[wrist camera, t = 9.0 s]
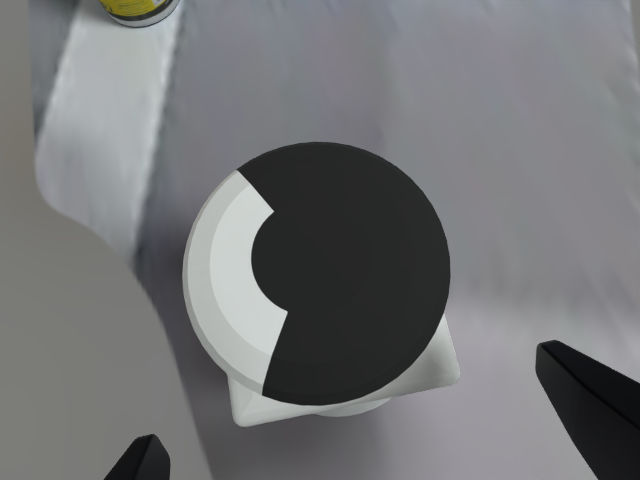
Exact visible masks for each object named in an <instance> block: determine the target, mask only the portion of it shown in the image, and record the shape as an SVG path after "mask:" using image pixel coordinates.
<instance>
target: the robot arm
mask: <svg viewBox="0 0 640 480" xmlns="http://www.w3.org/2000/svg"><path fill="white" fill-rule="evenodd" d="M535 369H536V374H537V377H538V379H539V381H540V383H541V385H542V387H543V388H544V390H545V392H546V394H547V396H548V398H549V399H550V401H551V403H552V405H553V407H554V409H555V411H556V412H557V414H558V416H559V418H560V420H561V422H562V423H563V425H564V427H565V429H566V431H567V433H568V434H569V436H570V438H571V439H572V441H573V443H574V444H575V446H576V447H577V449H578V451H579V452H580V454H581V455H582V457H583V458H584V459H585V461H586V462H587V464H588V465H589V467H590V468H591V470H592V471H593V473H594V474H595V476H596V477H597V479H598V480H640V383H638V382H636V381H635V380H633V379H631V378H629V377H627V376H625V375H623V374H621V373H619V372H617V371H615V370H613V369H612V368H610V367H608V366H606V365H604V364H602V363H600V362H598V361H596V360H594V359H592V358H591V357H589V356H587V355H585V354H583V353H581V352H579V351H577V350H575V349H573V348H571V347H569V346H568V345H566V344H564V343H562V342H560V341H557V340H551V341H547V342H543V343H540V344H538V346H537V349H536V366H535ZM169 477H170V458H169V455H168V453H167V451H166V450H165V448H164V446H163V445H162V443H161V442H160V440H159V438H158V437H157V436H156V435H154V434H150V435H146V436H142V437H138V438H137V439H135V440H134V441H133V442H132V444H131V445H130V446H129V448H128V449H127V451H126V452H125V453H124V454H123V455H122V457H121V458H120V459H119V460H118V462H117V463H116V465H115V466H114V467H113V468H112V470H111V471H110V472H109V473H108V475H107V476H106V477H105V479H104V480H169V479H170V478H169Z"/></svg>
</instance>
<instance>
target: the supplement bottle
mask: <svg viewBox="0 0 640 480" xmlns="http://www.w3.org/2000/svg"><path fill="white" fill-rule="evenodd" d="M98 1H99V2H100V4H101V5H102V6H103V8H104V9H105V10H106V11H107V13H108V14H109V15H110V16H111V17H112V18H113V19H114V20H116V21H117V22H119V23H121V24H124V25H127V26H134V27H140V26H147V25H150V24H153V23H156V22H158V21H160V20H162V19H164V18H165V17H166V16H168V15H169V14H170V13H171V12H172V11H173V10H174V8H175V7H176V6H177V4H178V2H179V0H98Z"/></svg>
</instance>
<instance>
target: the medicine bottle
mask: <svg viewBox="0 0 640 480" xmlns="http://www.w3.org/2000/svg"><path fill="white" fill-rule="evenodd" d="M182 279H183V294H184V299H185V304H186V308H187V313H188V315H189V318H190V321H191V323H192V326H193V329H194V331H195V333H196V335H197V337H198V338H199V340H200V342H201V344H202V346H203V347H204V348H205V350H206V351H207V352H208V354H209V355H210V356H211V358H212V359H213V360H214V362H215V363H216V364H217V365H218V366H219V367H220V368H221V369H222V370H224V371H225V372H226V373H227V377H228V385H229V393H230V401H231V409H232V417H233V419H234V422H235V423H236V424H237V425H239V426H241V427H249V426H253V425H258V424H263V423H268V422H273V421H278V420H283V419H288V418H293V417H298V416H303V415H308V414H312V413H317V412H322V411H327V410H332V409H337V408H342V407H347V406H352V405H357V404H362V403H367V402H371V401H376V400H381V399H386V398H391V397H396V396H401V395H406V394H411V393H416V392H421V391H426V390H430V389H435V388H440V387H445V386H450V385H453V384H455V383H457V381H458V380H459V378H460V368H459V365H458V361H457V358H456V354H455V350H454V347H453V343H452V340H451V336H450V333H449V329H448V325H447V322H446V318H445V315H444V310H445V306H446V302H447V299H448V294H449V285H450V256H449V251H448V245H447V240H446V236H445V233H444V231H443V228H442V225H441V222H440V220H439V218H438V216H437V214H436V212H435V210H434V208H433V206H432V204H431V203H430V201H429V200H428V199H427V197H426V196H425V194H424V193H423V191H422V190H421V189H420V188H419V187H418V186H417V185H416V184H415V183H414V181H413V180H412V179H411V178H410V177H409V176H407V175H406V174H405V173H404V172H402V171H401V170H400V169H399V168H398V167H396V166H395V165H393V164H392V163H390V162H388V161H387V160H385V159H383V158H382V157H380V156H377V155H375V154H373V153H371V152H369V151H366V150H363V149H360V148H357V147H353V146H350V145H344V144H338V143H331V142H309V143H298V144H293V145H289V146H284V147H280V148H277V149H275V150H272V151H269V152H266V153H264V154H262V155H260V156H258V157H256V158H254V159H252V160H250V161H248V162H247V163H245V164H244V165H242V166H241V167H239V168H238V169H236V170H235V171H234V172H233V173H232V174H230V175H229V176H228V177H227V178H226V179H225V180H223V181H222V182H221V184H220V185H219V186H218V187H217V188H216V189H215V190H214V191H213V192H212V194H211V195H210V196H209V198H208V199H207V201H206V202H205V204H204V205H203V207H202V208H201V210H200V212H199V214H198V216H197V218H196V220H195V221H194V223H193V226H192V229H191V232H190V234H189V237H188V240H187V244H186V249H185V254H184V259H183V273H182Z"/></svg>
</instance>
